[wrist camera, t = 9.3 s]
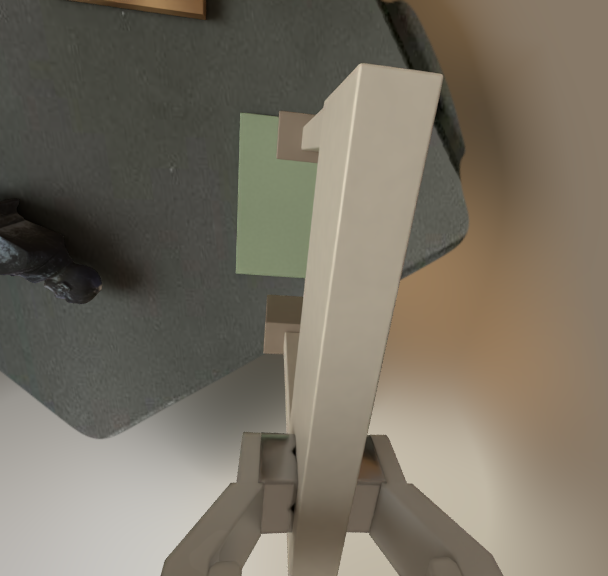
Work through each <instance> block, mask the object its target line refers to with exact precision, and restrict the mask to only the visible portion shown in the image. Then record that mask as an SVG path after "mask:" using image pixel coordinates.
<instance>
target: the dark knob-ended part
mask: <svg viewBox="0 0 608 576" xmlns="http://www.w3.org/2000/svg"><path fill="white" fill-rule="evenodd" d="M19 202H20V199H9V200H4V201H0V275H11V276H16V275H18V276H22V277H24V278H25V279H26V280H28V281H30V282H32V283H37V282H40V281H43V280H45V283H44V286H45V287H47V288H48V289H50V290H51V291H52V292H53V293H54V294H55V297H58V298H63V299H65V300H66V301H67V302H69V303H77V304H84V303H87V302H89V301H91V300H92V299H93V298H94V297H95V296H96V295H97V294H98V293H99V291H101V289H102V282H101V277H100V276H99V274H98V273H97V272H96V271H95V270H94V269H92V268H90V267H88V266H86V265H80V264H75V263H74V262H73V259H72V258H71V257H70V256H69V254H68V252H67V249H66V248H65V243H64V237H63V235H61V234H59V233H56V232H54V231H52V230H49V229H47V228H44V227H42V226H39V225H36V224H34V223H31V222H29V221H26V220H24V218H23V217H22V216H20V215H19V214H18V213H17V210H16V208H17V206H18V204H19Z"/></svg>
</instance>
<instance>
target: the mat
mask: <svg viewBox="0 0 608 576" xmlns="http://www.w3.org/2000/svg"><path fill="white" fill-rule="evenodd" d="M278 123H279V117H276V116H267V115H258V114H250V113H240V145H239V181H238V216H237V252H236V273H237V274H252V275H267V276H281V277H296V278H305V277H306V268H307V259H308V249H309V240H310V231H311V221H312V212H313V203H314V193H315V184H316V175H317V165H318V163H310V162H300V161H291V160H281V159H277V158H276V153H277V138H278Z"/></svg>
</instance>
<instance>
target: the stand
mask: <svg viewBox="0 0 608 576" xmlns="http://www.w3.org/2000/svg"><path fill="white" fill-rule="evenodd" d="M70 1H77V2H84V3H91V4H98V5H105V6H112V7H119V8H126V9H133V10H140V11H147V12H154V13H161V14H168V15H175V16H182V17H189V18H196V19H203V20H206V0H70Z"/></svg>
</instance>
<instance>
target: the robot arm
mask: <svg viewBox="0 0 608 576" xmlns="http://www.w3.org/2000/svg"><path fill="white" fill-rule="evenodd" d="M295 450H296V438H295V434H284V433H253V432H243V435H242V442H241V450H240V458H239V466H238V475H237V483H230V485H229V486H228V487H227V488H226V489H225V491H224V492H223V493H222V494H221V495H220V496H219V498H218V499H217V500H216V501H215V502H214V503H213V505H212V506H211V507H210V508H209V509H208V510H207V512H206V513H205V514H204V515H203V516H202V517H201V519H200V520H199V521H198V522H197V523H196V524H195V526H194V527H193V528H192V529H191V530H190V532H189V533H188V534H187V535H186V536H185V538H184V539H183V540H182V541H181V542H180V543H179V545H178V546H177V547H176V548H175V549H174V550H173V552H172V553H171V554H170V555H169V556H168V557H167V558H166V560H165V562H164V566H163V569H162V573H161V576H241V574H242V568H243V566H244V564H245V562H246V561H247V559H248V557H249V555H250V554H251V552H252V550H253V548H254V546H255V545H256V543H257V541H258V540H259V538H260V536H261V534H267V533H291V532H292V529H293V521H294V504H295V503H296V498H297V490H298V467H297V458H296V456H295ZM347 532H365V533H367V532H368V533H369V535H370V536H371V538H373V540H374V541H375V543H376V544H377V545H378V547H379V548H380V550H381V551H382V552H383V554H384V555H385V556H386V558H387V559H388V561H389V562H390V563H391V565H392V566H393V567H394V569H395V570H396V571H397V573H398V574H399V576H503V574H502V572H501V570H500V569H499V567H498V565H497V563H496V561H495V559H494V558H493V556H492V554H491V553H489V552H488V551H487V550H486V549H485V548H484V547H483V546H481V545H480V544H479V543H478V542H477V541H476V540H475V539H474V538H472V537H471V536H470V535H469V534H468V533H467V532H466V531H465V530H464V529H462V528H461V527H460V526H459V525H458V524H457V523H455V521H453V520H452V519H451V518H450V517H449V516H448V515H447V514H446V513H444V512H443V511H442V510H441V509H440V508H439V507H438V506H437V505H435V504H434V503H433V502H432V501H431V500H430V499H429V498H428V497H426V496H425V495H424V494H423V493H422V492H421V491H420V490H419V489H418V488H416V487H415V486H414V485H413V484H407V483H406V480H405V477H404V475H403V473H402V470H401V468H400V465H399V463H398V460H397V458H396V455H395V453H394V450H393V448H392V445H391V443H390V440H389V438H388V437H387V436H386V435H367V438H366V443H365V448H364V452H363V457H362V462H361V466H360V471H359V476H358V480H357V485H356V490H355V494H354V499H353V504H352V509H351V513H350V518H349V523H348V527H347Z"/></svg>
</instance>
